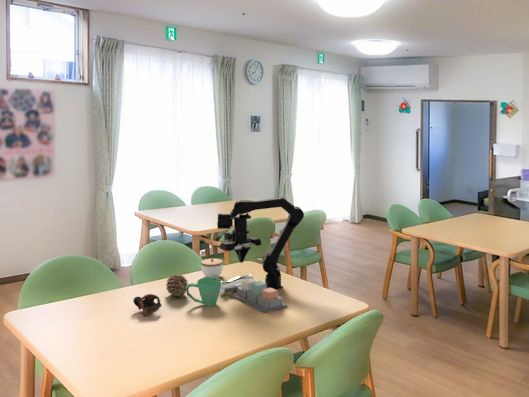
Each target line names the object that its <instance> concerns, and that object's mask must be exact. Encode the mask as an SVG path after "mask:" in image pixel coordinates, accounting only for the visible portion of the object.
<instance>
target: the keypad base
mask: <svg viewBox="0 0 529 397" xmlns="http://www.w3.org/2000/svg"><path fill="white" fill-rule="evenodd" d="M232 298H235V299H236V300H238V301H241V302H242V303H244V304H246V305H249V306H250V307H252V308H254V309H257V310H258V311H261V312H262V313H265V314H267V313H270V312H273V311H278V310H282V309H285V308H288V304H286V303H284V302H283V297H282V296H280V295H277V298H276V299H272V300H266V299H264V298H262V294H261V295H255V294H253V293H251V290H248V291H246V290H244V289H242V288H241V286H240V287H238V288H237V292H236V293H232Z"/></svg>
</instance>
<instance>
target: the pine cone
mask: <svg viewBox="0 0 529 397" xmlns="http://www.w3.org/2000/svg"><path fill="white" fill-rule="evenodd" d="M186 278H187V277H185V275H183V274H174V273H172V274H170V276H169V278H168V279H166V283H165V287H166V291H167V292H168V294H170V295H172V296H174V297H176V296H177V297H181V296H185V294H187V292H186V286H187V285H188V284H189V283H188V282H189V280H188V279H186Z"/></svg>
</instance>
